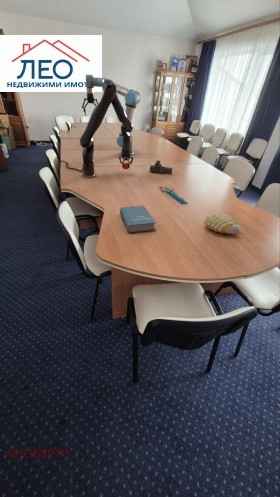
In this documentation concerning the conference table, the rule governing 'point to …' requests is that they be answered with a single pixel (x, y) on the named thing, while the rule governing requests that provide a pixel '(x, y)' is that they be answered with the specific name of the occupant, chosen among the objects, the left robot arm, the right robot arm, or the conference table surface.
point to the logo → (167, 189)
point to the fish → (223, 224)
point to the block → (125, 165)
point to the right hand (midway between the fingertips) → (91, 116)
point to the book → (137, 219)
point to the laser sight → (160, 168)
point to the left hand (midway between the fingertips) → (125, 168)
